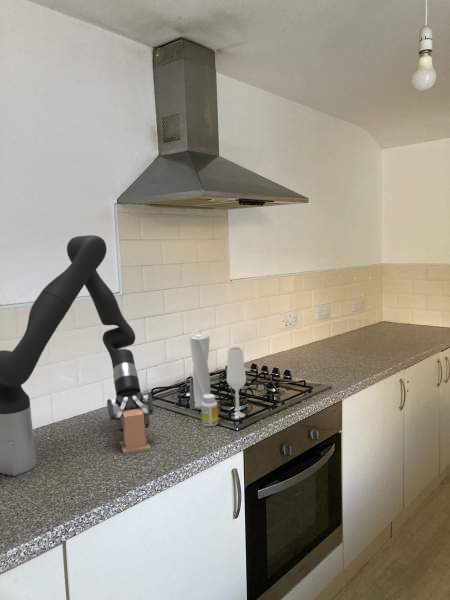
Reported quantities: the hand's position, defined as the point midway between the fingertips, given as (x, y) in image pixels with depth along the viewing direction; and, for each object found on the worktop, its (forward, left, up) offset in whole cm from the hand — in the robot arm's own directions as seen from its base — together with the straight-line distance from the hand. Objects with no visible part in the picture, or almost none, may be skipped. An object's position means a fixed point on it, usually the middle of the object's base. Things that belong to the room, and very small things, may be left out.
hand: (134, 429), depth 147 cm
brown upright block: (+1, +1, -5) cm, 6 cm away
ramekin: (+27, +21, -7) cm, 35 cm away
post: (+1, +1, -6) cm, 6 cm away
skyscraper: (+40, -4, -6) cm, 41 cm away
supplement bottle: (+24, -14, -6) cm, 29 cm away
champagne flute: (+32, -21, -6) cm, 39 cm away
